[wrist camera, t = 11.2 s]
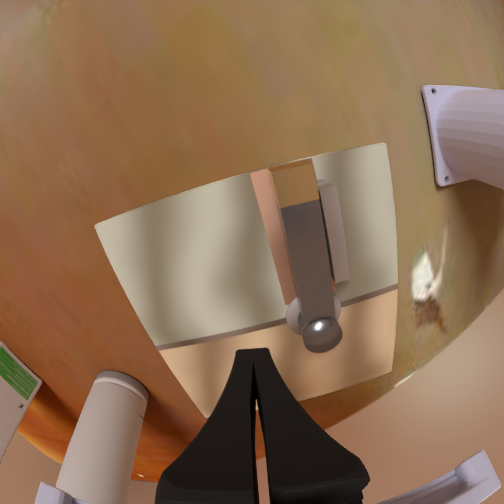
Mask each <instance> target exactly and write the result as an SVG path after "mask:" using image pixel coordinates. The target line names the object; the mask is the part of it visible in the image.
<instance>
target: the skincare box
mask: <svg viewBox="0 0 504 504" xmlns="http://www.w3.org/2000/svg"><path fill="white" fill-rule="evenodd" d="M41 385H42V380H41V379H39V378H38V377H37V376H36V375H35V374H34V373H33V372H32V371H31V370H30V369H29V368H27V367H26V366H25V365H24V364H23V363H22V362H21V361H20V360H19V359H18V358H17V357H16V356H15V355H14V354H13V353H12V352H11V351H10V350H9V349H8V347H7V346H6V345H5V344H4V343H3V342H2V341H1V342H0V463H1V461H2V458H3V456H4V454H5V452H6V450H7V448H8V446H9V443H10V441H11V439H12V437H13V435H14V433H15V431H16V429H17V428H18V426H19V424H20V422H21V420H22V418H23V416H24V414H25V413H26V411H27V409H28V407H29V405H30V404H31V402H32V400H33V398H34V396H35V395H36V393H37V391H38V390H39V388H40V386H41Z"/></svg>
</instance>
